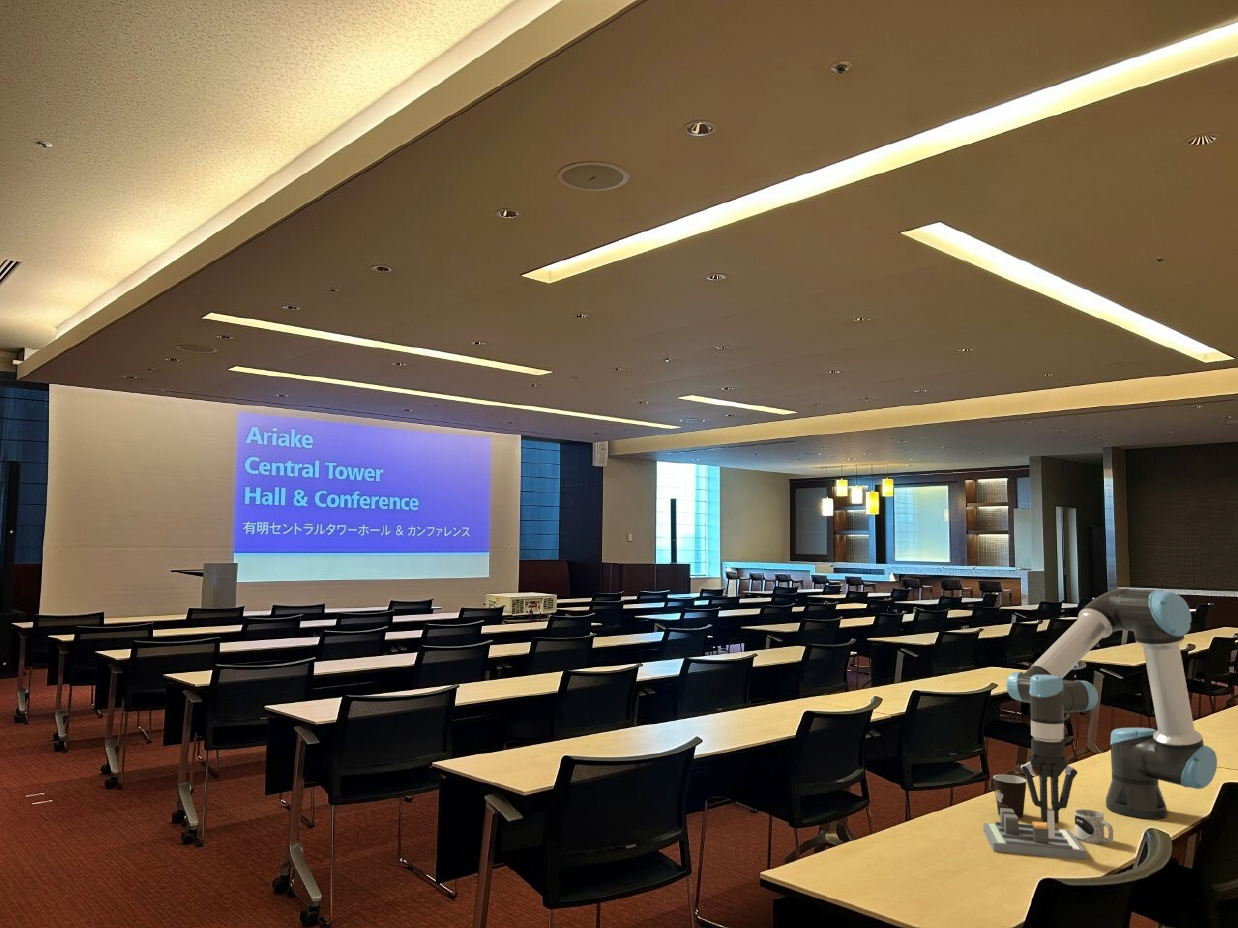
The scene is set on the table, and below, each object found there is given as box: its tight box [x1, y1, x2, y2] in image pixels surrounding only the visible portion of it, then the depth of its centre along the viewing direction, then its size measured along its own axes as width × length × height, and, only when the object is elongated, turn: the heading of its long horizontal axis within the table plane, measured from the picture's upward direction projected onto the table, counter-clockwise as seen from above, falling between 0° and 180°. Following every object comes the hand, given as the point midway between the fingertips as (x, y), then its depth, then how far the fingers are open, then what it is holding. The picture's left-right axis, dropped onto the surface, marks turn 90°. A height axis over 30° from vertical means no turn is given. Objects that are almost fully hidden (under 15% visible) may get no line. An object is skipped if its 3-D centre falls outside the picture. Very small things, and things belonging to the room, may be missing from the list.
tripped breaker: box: [1031, 821, 1049, 844], centre depth 220 cm, size 3×3×5 cm
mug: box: [1074, 808, 1114, 845], centre depth 228 cm, size 10×7×7 cm
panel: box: [982, 821, 1088, 861], centre depth 225 cm, size 21×16×3 cm
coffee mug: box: [990, 774, 1027, 820], centre depth 251 cm, size 12×9×10 cm
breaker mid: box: [1003, 814, 1020, 835], centre depth 226 cm, size 3×3×5 cm
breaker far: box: [999, 808, 1015, 828], centre depth 231 cm, size 3×3×5 cm
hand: (1050, 835), depth 219 cm, fingers closed
